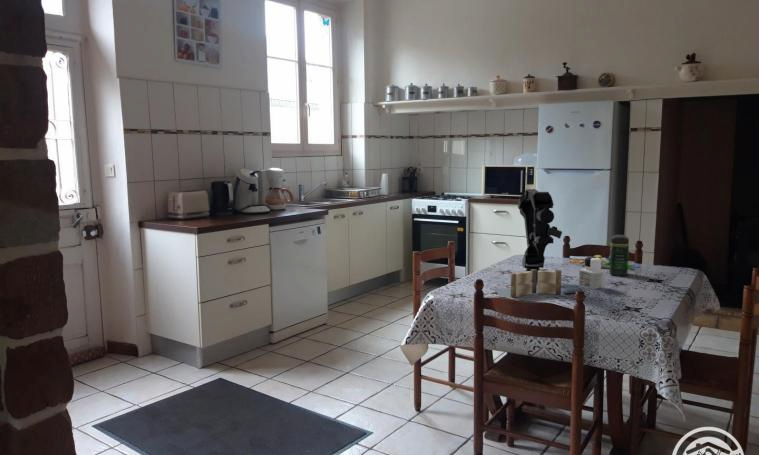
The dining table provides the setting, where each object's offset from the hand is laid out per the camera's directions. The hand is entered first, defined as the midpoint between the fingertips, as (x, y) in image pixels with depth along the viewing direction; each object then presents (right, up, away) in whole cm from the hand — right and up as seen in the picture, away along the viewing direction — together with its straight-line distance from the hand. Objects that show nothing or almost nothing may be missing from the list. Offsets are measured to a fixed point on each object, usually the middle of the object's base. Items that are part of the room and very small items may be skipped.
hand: (541, 258), depth 246 cm
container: (+22, -13, +1) cm, 25 cm away
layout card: (-7, -14, -7) cm, 18 cm away
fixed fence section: (0, -14, -11) cm, 18 cm away
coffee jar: (+43, -9, +25) cm, 51 cm away
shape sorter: (+45, -7, +47) cm, 65 cm away
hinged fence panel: (-10, -14, -12) cm, 21 cm away
